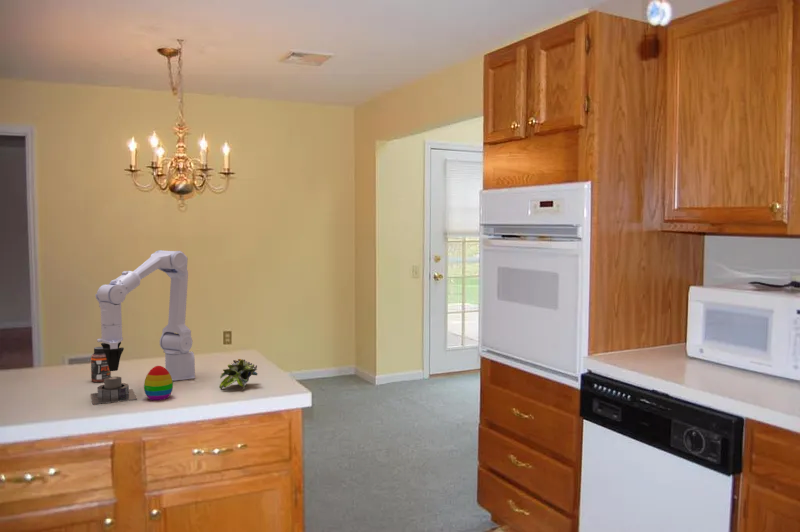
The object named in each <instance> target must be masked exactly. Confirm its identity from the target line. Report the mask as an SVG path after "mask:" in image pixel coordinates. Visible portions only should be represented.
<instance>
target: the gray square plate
mask: <svg viewBox="0 0 800 532" xmlns="http://www.w3.org/2000/svg"><path fill="white" fill-rule="evenodd" d="M129 388H130V387H129V384H128V383H127V382H126V383H125V382H122V388H118V389H104V384H101V385H99V386H98V387H97V391H96V392H94V393H90V399H91V402H92V406H94V404H96V405H102V404H101V403H105V404H111V402H113V403H119V402H118V401H121V402H128V401H127V400H129V401H136V400H138V399H137V396H136V394H135V391H134V390H133V389H132V388H130V389H129Z"/></svg>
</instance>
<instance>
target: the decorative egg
mask: <svg viewBox="0 0 800 532" xmlns="http://www.w3.org/2000/svg"><path fill="white" fill-rule="evenodd" d="M144 379H145V380H144V382H143V383H144V385H143V388H144V393H145V396H146V397H147V398H148V400H150V401H164V400H166V399H168V398H169V397H170V396H171V394H172V392H173V388H174V387H173V386H174V381H172V378H171V375H170V373H169V372H168V371H167V370H166V369H165V366H161V365H156V366H154V367H152V368H151V369H150V370H149V371H148V372H147V375H146V376H145V378H144Z"/></svg>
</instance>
